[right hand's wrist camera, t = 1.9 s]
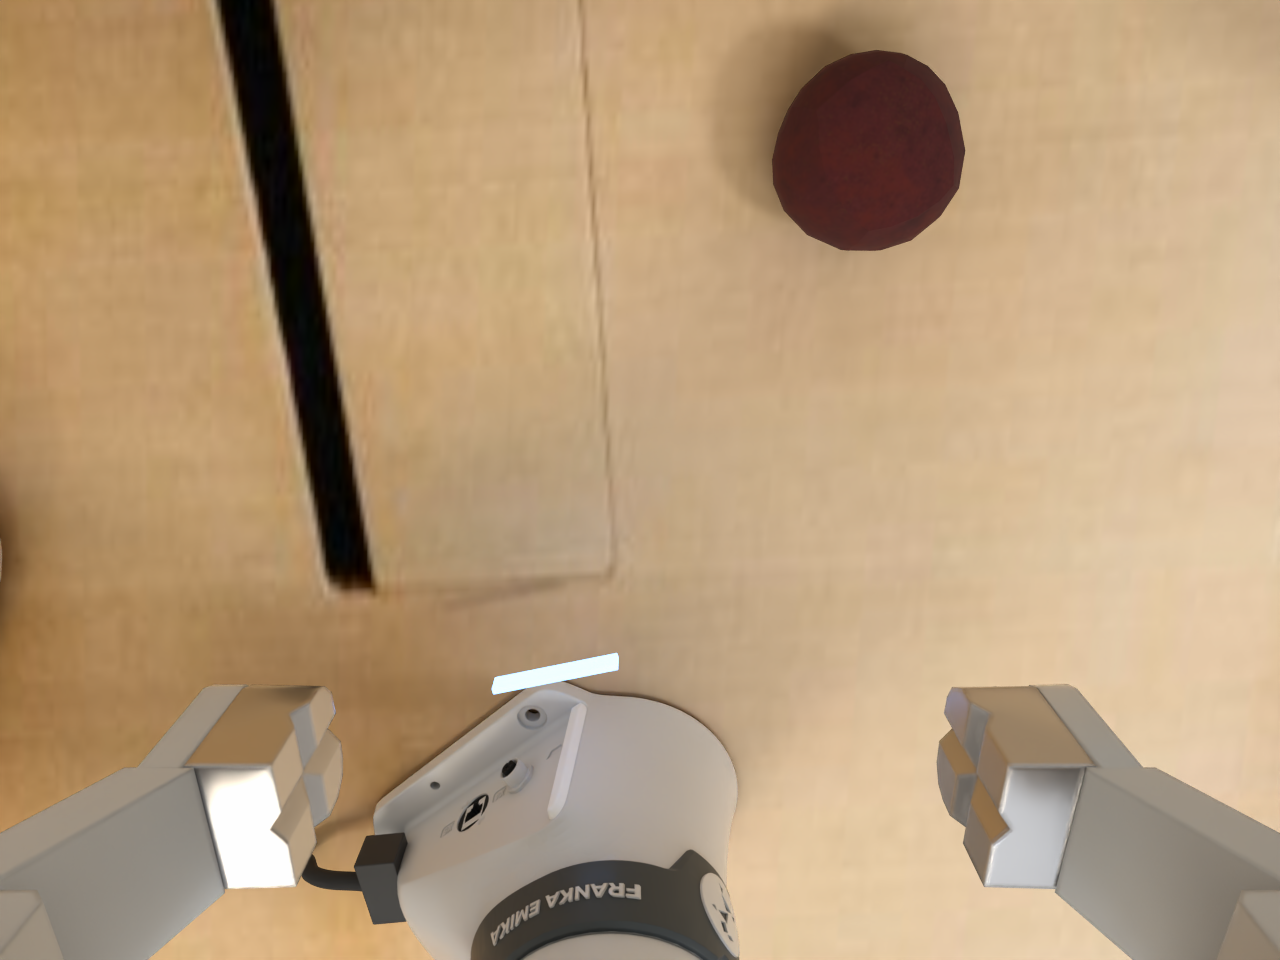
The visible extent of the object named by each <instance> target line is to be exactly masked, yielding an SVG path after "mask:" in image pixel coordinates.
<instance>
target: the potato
mask: <svg viewBox="0 0 1280 960" xmlns="http://www.w3.org/2000/svg"><path fill="white" fill-rule="evenodd" d="M964 155H965V147H964V141H963V136H962V131H961V125H960V120H959V115H958V111H957V109H956V107H955V105H954V103H953V100H952V98H951V96H950V94H949V92H948V90H947V88H946V85H945V84H944V83H943V82H942V81H941V80H940V79H939V78H938V76H937V75H936V74H935V73H934V72H933V71H932V70H931V69H930V68H929V67H928V66H927V65H925V64H923V63H921V62H919V61H917V60H915V59H913V58H912V57H910V56H908V55H905V54H902V53H896V52H888V51H879V50H874V51H868V52H862V53H856V54H851V55H849V56H846V57H844V58H842V59H840V60H838V61H835V62H833V63H831V64H829V65H827V66H825V67H824V68H823V69H822V70H821V71H820V72H819V73H818V74H817V75H815V76H814V77H813V78H812V79H811V80H810V81H809V82H808V83H807V84H806V85H805V86H804V87H803V88H802V89H801V90H800V92H799V93H798V95H797V97H796V98H795V100H794V101H793V103H792V104H791V106H790V108H789V109H788V111H787V113H786V116H785V118H784V121H783V123H782V126H781V128H780V130H779V133H778V136H777V141H776V145H775V150H774V155H773V159H772V164H773V185H774V187H775V190H776V192H777V194H778V197H779V199H780V202H781V204H782V207H783V209H784V211H785V212H786V213H787V214H788V215H789V216H790V217H791V218H792V219H793V220H794V221H795V222H796V224H797V225H798V226H799V227H800V228H801V229H802V230H803V231H804V232H805V233H806V234H807V235H809V236H811V237H813V238H815V239H818V240H820V241H822V242H824V243H827V244H829V245H831V246H833V247H836V248H838V249H840V250H861V251H876V250H883V249H886V248H889V247H892V246H895V245H898V244H901V243H904V242H908V241H911V240H912V239H913V238H915V237H916V236H917V235H918V234H920V233H921V232H922V231H923V230H924V229H926V228H927V227H928V226H929V225H931V224H932V223H933V222H934V221H935V220H937V219H938V218H939V217H940V216H941V214H942V213H943V211H944V210H945V208H946V207H947V205H948V204H949V202H950V201H951V199H952V198H953V196H954V195H955V193H956V192H957V190H958V189H959V184H960V178H961V172H962V167H963V161H964Z"/></svg>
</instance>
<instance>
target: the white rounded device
mask: <svg viewBox="0 0 1280 960" xmlns="http://www.w3.org/2000/svg"><path fill="white" fill-rule="evenodd" d="M1 571H2V547H1V539H0V580H1Z"/></svg>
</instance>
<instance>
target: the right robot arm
mask: <svg viewBox="0 0 1280 960" xmlns="http://www.w3.org/2000/svg"><path fill="white" fill-rule="evenodd" d="M614 670H618V655H617V653H615V654H610V655H605V656H600V657H595V658H590V659H585V660H580V661H575V662H570V663H565V664H560V665H555V666H550V667H545V668H540V669H535V670H530V671H525V672H520V673H515V674H510V675H505V676H500V677H495V679H494V683H493V686H492V692H493V694H498V693H503V692H508V691H513V690H518V689H523V688H526V689H524V690H523V691H522V692H520V693H519V694H518V695H517V696H515V697H514V698H513V699H511V700H510V701H509V702H507V703H506V704H505V705H503V706H502V707H501V708H499V709H498V710H497V711H496V712H494V713H493V714H492V715H490V716H489V717H488V718H486V719H485V720H484V721H482V722H481V723H480V724H479V725H477V726H476V727H475V728H473V729H472V730H471V731H469V732H468V733H467V734H465V735H464V736H463V737H462V738H460V739H459V740H458V741H456V742H455V743H454V744H452V745H451V746H450V747H448V748H447V749H446V750H444V751H443V752H442V753H441V754H439V755H438V756H437V757H435V758H434V759H433V760H431V761H430V762H429V763H427V764H426V765H425V766H424V767H422V768H421V769H420V770H418V771H417V772H416V773H414V774H413V775H412V776H410V777H409V778H408V779H407V780H405V781H404V782H403V783H401V784H400V785H399V786H397V787H396V788H395V789H393V790H392V791H391V792H390V793H388V794H387V795H386V796H384V797H383V798H382V799H381V800H380V801H379V802H378V803H377V805H376V808H375V812H374V816H373V824H374V832H375V835H371V836H366V838H365V841H364V843H363V845H362V848H361V850H360V853H359V855H358V858H357V860H356V863H355V865H354V868H355V871H356V872H344V871H331V870H326V869H322V868H320V867H318V866H317V863H316V859H315V857H314V856H313V855H312V852H313V850H314V848H315V846H316V844H317V841H316V835H315V830H314V827H315V826H316V825H318V824H319V823H321V822H322V821H323V820H325V819H326V818H327V817H329V816H330V815H331V812H332V810H333V808H334V806H335V803H336V801H337V799H338V795H339V791H340V786H341V781H342V777H343V754H342V747H341V741H340V740H339V739H338V738H337V737H336V736H335V735H334V734H333V733H332V732H331V731H330V730H329V729H328V727H329V725H330V723H331V721H332V719H333V718H334V716H335V714H336V711H335V707H334V702H333V697H332V692H331V691H330V690H329V689H327V688H326V687H325V686H290V685H250V686H249V685H211V686H208V687H206V688H203V689H202V690H201V692H200V693H199V694H198V695H197V696H196V698H195V699H194V700H193V701H192V702H191V704H190V705H189V706H188V707H187V708H186V709H185V711H184V712H183V713H182V714H181V715H180V717H179V718H178V719H177V720H176V721H175V723H174V724H173V725H172V726H171V727H170V729H169V730H168V731H167V732H166V733H165V735H164V736H163V737H162V738H161V739H160V740H159V742H158V743H157V744H156V745H155V746H154V748H153V749H152V750H151V751H150V752H149V754H148V755H147V756H146V757H145V758H144V760H143V761H142V762H141V763H140V764H139V766H138V767H137V768H123V769H121V770H119V771H117V772H115V773H113V774H111V775H109V776H108V777H106V778H104V779H102V780H100V781H98V782H96V783H94V784H92V785H90V786H89V787H87V788H85V789H83V790H81V791H79V792H77V793H75V794H73V795H71V796H70V797H68V798H66V799H64V800H62V801H60V802H58V803H56V804H54V805H52V806H51V807H49V808H47V809H45V810H43V811H41V812H39V813H37V814H35V815H33V816H32V817H30V818H28V819H26V820H24V821H22V822H20V823H18V824H16V825H14V826H13V827H11V828H9V829H7V830H5V831H3V832H1V833H0V960H148V959H149V958H150V957H151V956H152V955H154V954H155V953H156V952H157V951H158V950H159V949H161V948H162V947H163V946H164V945H165V944H166V943H167V942H169V941H170V940H171V939H172V938H173V937H174V936H176V935H177V934H178V933H179V932H180V931H181V930H183V929H184V928H185V927H186V926H187V925H188V924H189V923H191V922H192V921H193V920H194V919H195V918H196V917H198V916H199V915H200V914H201V913H202V912H203V911H204V910H206V909H207V908H208V907H209V906H210V905H211V904H213V903H214V902H215V901H216V900H217V899H218V898H220V897H221V896H222V895H223V894H224V893H225V890H224V889H240V888H275V887H296V886H297V884H298V882H299V879H300V877H301V875H302V877H303V879H304V880H305V881H307V882H308V883H310V884H312V885H314V886H317V887H320V888H324V889H332V890H351V891H362V892H363V895H364V898H365V901H366V904H367V907H368V910H369V913H370V916H371V919H372V922H373V924H385V923H396V922H407V923H408V925H409V927H410V929H411V930H412V932H413V933H414V935H415V936H416V938H417V939H418V941H419V942H420V943H421V944H422V946H423V947H424V948H425V950H426V951H427V952H428V953H429V954H430V955H431V956H432V957H433V958H434V960H739V954H740V948H739V938H738V931H737V925H736V920H735V915H734V911H733V907H732V903H731V900H730V896H729V893H728V890H727V858H728V846H729V837H730V830H731V824H732V820H733V816H734V813H735V809H736V805H737V798H738V784H737V777H736V772H735V769H734V766H733V763H732V761H731V759H730V757H729V755H728V753H727V751H726V750H725V748H724V746H723V745H722V744H721V742H720V741H719V740H718V739H717V738H716V736H715V735H714V734H713V733H712V732H711V731H710V730H709V729H708V728H706V727H705V726H704V725H703V724H701V723H700V722H699V721H697V720H696V719H694V718H693V717H691V716H690V715H688V714H686V713H684V712H682V711H680V710H678V709H676V708H674V707H671V706H669V705H666V704H663V703H660V702H656V701H652V700H648V699H643V698H637V697H627V696H609V695H599V694H594V693H590V692H588V691H586V690H584V689H581V688H579V687H577V686H574V685H572V684H569V683H566V682H564V680H569V679H574V678H579V677H584V676H589V675H594V674H599V673H604V672H609V671H614ZM529 709H535V710H537V711H538V713H531V712H529V711H528V710H529ZM944 714H945V716H946V718H947V719H948V721H949V723H950V725H951V727H952V729H951V730H950V731H949V732H948V733H947V734H946V735H945V736H944V737H943V738H942V739H941V740H940V741H939V748H938V756H937V772H938V784H939V788H940V791H941V795H942V799H943V801H944V804H945V806H946V808H947V810H948V812H949V815H950V816H951V817H953V818H954V819H955V820H957V821H958V822H959V823H961V824H962V825H964V826H965V827H966V830H965V835H964V841H963V844H964V846H965V848H966V850H967V852H968V855H969V857H970V859H971V861H972V863H973V865H974V867H975V869H976V871H977V873H978V875H979V877H980V879H981V881H982V883H983V886H984V887H1004V888H1039V889H1056V890H1055V893H1056V894H1057V895H1059V896H1060V897H1061V898H1062V899H1063V900H1064V901H1066V902H1067V903H1068V904H1069V905H1070V906H1071V907H1072V908H1074V909H1075V910H1076V911H1077V912H1078V913H1079V914H1080V915H1082V916H1083V917H1084V918H1085V919H1086V920H1087V921H1089V922H1090V923H1091V924H1092V925H1093V926H1094V927H1095V928H1097V929H1098V930H1099V931H1100V932H1101V933H1102V934H1104V935H1105V936H1106V937H1107V938H1108V939H1109V940H1110V941H1112V942H1113V943H1114V944H1115V945H1116V946H1117V947H1119V948H1120V949H1121V950H1122V951H1123V952H1124V953H1125V954H1127V955H1128V956H1129V957H1130V958H1131V959H1132V960H1280V833H1278V832H1277V831H1275V830H1273V829H1271V828H1269V827H1267V826H1265V825H1263V824H1261V823H1260V822H1258V821H1256V820H1254V819H1252V818H1250V817H1248V816H1246V815H1244V814H1242V813H1241V812H1239V811H1237V810H1235V809H1233V808H1231V807H1229V806H1227V805H1225V804H1224V803H1222V802H1220V801H1218V800H1216V799H1214V798H1212V797H1210V796H1208V795H1207V794H1205V793H1203V792H1201V791H1199V790H1197V789H1195V788H1193V787H1191V786H1189V785H1188V784H1186V783H1184V782H1182V781H1180V780H1178V779H1176V778H1174V777H1172V776H1171V775H1169V774H1167V773H1165V772H1163V771H1161V770H1159V769H1157V768H1143V767H1142V766H1141V764H1140V763H1139V762H1138V761H1137V760H1136V758H1135V757H1134V756H1133V755H1132V754H1131V752H1130V751H1129V750H1128V749H1127V748H1126V747H1125V745H1124V744H1123V743H1122V742H1121V741H1120V739H1119V738H1118V737H1117V736H1116V735H1115V733H1114V732H1113V731H1112V730H1111V729H1110V727H1109V726H1108V725H1107V724H1106V723H1105V722H1104V720H1103V719H1102V718H1101V717H1100V716H1099V714H1098V713H1097V712H1096V711H1095V710H1094V708H1093V707H1092V706H1091V705H1090V704H1089V702H1088V701H1087V700H1086V699H1085V698H1084V697H1083V695H1082V694H1081V693H1080V692H1079V691H1078V689H1076V688H1074V687H1072V686H1071V685H1069V684H1053V685H1029V686H1014V687H952V688H951V690H950V692H949V694H948V696H947V700H946V706H945V711H944Z"/></svg>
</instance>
